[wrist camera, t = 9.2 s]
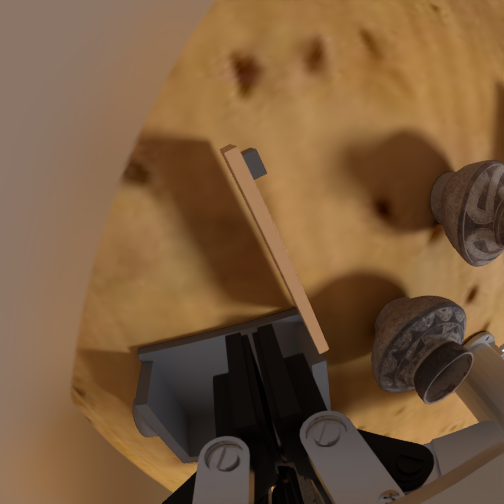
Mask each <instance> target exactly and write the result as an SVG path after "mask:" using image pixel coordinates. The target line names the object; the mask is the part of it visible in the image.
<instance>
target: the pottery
mask: <svg viewBox="0 0 504 504" xmlns="http://www.w3.org/2000/svg"><path fill="white" fill-rule="evenodd" d="M430 206H431V210H432V214H433V216H434V218H435V219H436V221H437V222H438V223H440V224H442V225H443V227H444V231H445V233H446V236H447V237H448V239H449V241H450V242H451V244H452V246H453V247H454V248H455V249H456V250H457V252H458V253H459V254H460V255H461V257H462V258H463V259H464V260H465V261H466V262H467V263H468V264H470V265H472V266H476V267H479V266H483V265H486V264H488V263H490V262H492V261H493V260H494V259H496V258H497V257H498V256H499V255H500V254H502V253H503V252H504V163H502V162H500V161H497V160H487V161H481V162H476V163H472V164H469V165H467V166H464V167H463V168H461V169H460V170H458V171H457V172H453V171H450V172H446V173H444V174H442V175H441V176H440V177H439V178H438V179H437V180H436V182H435V184H434V186H433V189H432V192H431V197H430ZM465 330H466V315H465V312H464V310H463V309H462V308H461V307H460V306H459V305H457V304H456V303H455V302H453V301H451V300H449V299H446V298H444V297H439V296H421V297H415V298H412V299H410V298H408V297H400V298H396V299H394V300H392V301H390V302H389V303H387V304H386V305H385V306H384V308H383V309H382V310H381V312H380V313H379V315H378V316H377V319H376V322H375V333H376V336H375V339H374V342H373V346H372V368H373V373H374V376H375V379H376V381H377V383H378V385H379V387H380V388H381V389H383V390H385V391H387V392H392V393H400V392H406V391H411V390H414V389H416V391H417V393H418V395H419V396H420V398H421V399H422V400H423V401H424V402H425V403H426V404H433V403H436V402H439V401H441V400H442V399H444V398H445V397H447V396H448V395H450V394H451V393H452V392H453V391H454V390H455V389H457V388H458V386H459V385H460V384H461V383H462V382H463V380H464V379H465V378H466V376H467V374H468V373H469V371H470V369H471V367H472V364H473V360H474V357H473V354H472V353H471V352H470V351H469V350H468V349H467V348H465V347H464V346H462V342H463V339H464V335H465Z"/></svg>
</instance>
